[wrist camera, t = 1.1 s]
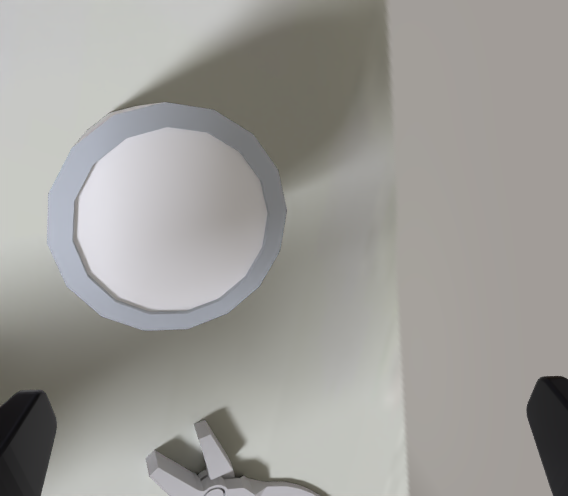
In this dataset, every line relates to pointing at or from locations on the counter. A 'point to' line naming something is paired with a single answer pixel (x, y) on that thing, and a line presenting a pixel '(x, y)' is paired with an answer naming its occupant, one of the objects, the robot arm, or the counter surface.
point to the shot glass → (165, 216)
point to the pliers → (213, 474)
